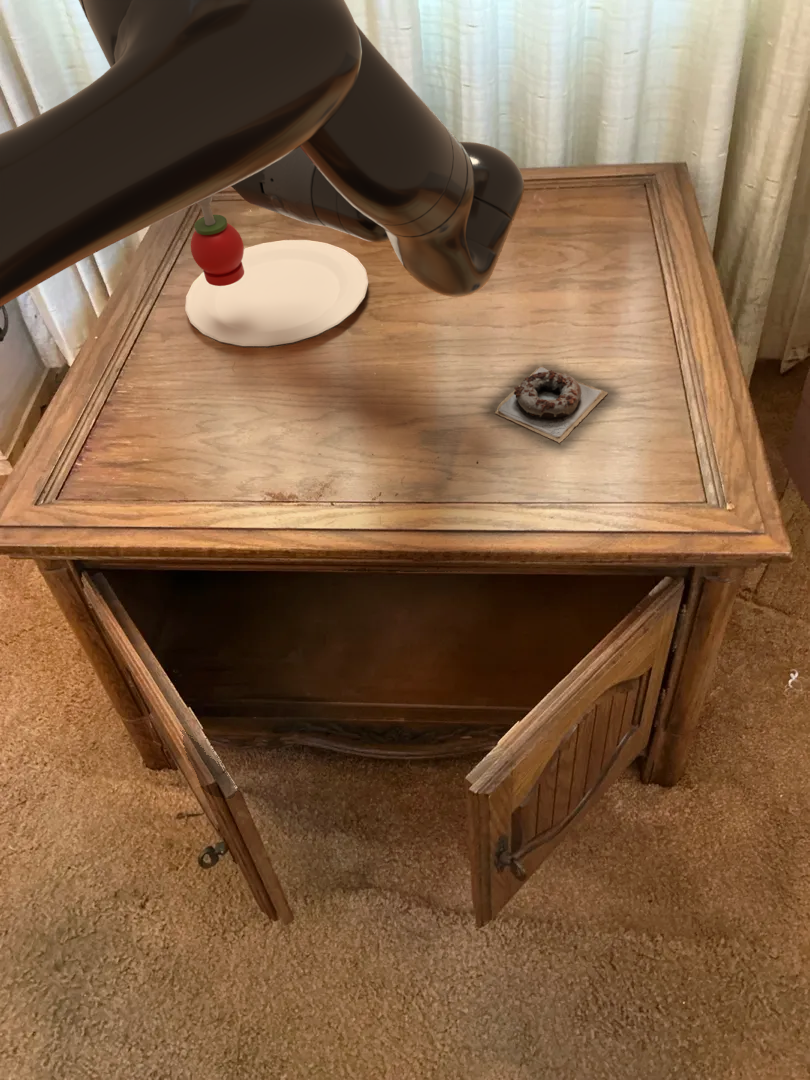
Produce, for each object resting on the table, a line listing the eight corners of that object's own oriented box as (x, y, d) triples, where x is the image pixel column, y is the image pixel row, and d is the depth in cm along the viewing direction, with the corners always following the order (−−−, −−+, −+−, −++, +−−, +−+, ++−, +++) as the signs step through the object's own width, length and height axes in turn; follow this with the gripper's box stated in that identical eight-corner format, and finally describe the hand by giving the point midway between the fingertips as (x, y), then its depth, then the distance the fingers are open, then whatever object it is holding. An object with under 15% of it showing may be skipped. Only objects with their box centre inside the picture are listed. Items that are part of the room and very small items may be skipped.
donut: (539, 366, 85) (540, 349, 84) (607, 394, 82) (609, 377, 80) (490, 412, 81) (490, 395, 80) (559, 443, 78) (561, 427, 76)
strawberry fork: (208, 295, 85) (157, 129, 73) (194, 271, 88) (143, 108, 76) (256, 279, 86) (214, 113, 74) (241, 256, 89) (198, 93, 77)
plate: (229, 245, 105) (226, 233, 104) (390, 256, 101) (389, 243, 99) (157, 348, 93) (152, 335, 91) (338, 366, 88) (335, 353, 87)
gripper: (348, 90, 70) (206, 55, 78) (229, 160, 64) (88, 115, 72) (359, 178, 76) (226, 137, 84) (251, 251, 69) (118, 199, 77)
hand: (163, 127), depth 78 cm, fingers closed on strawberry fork
